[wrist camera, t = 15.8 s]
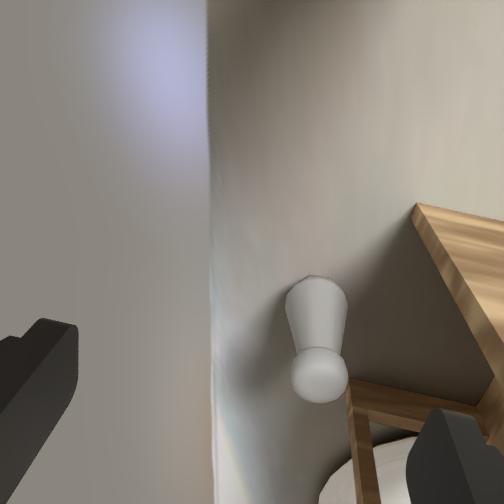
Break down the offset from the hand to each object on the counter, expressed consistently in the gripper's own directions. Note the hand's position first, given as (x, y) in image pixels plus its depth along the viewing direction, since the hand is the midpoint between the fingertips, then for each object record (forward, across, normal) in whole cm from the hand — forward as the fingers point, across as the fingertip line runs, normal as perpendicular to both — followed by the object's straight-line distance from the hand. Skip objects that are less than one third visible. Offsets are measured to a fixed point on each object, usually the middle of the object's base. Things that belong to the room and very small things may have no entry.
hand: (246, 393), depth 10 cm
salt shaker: (+30, -6, +15) cm, 34 cm away
